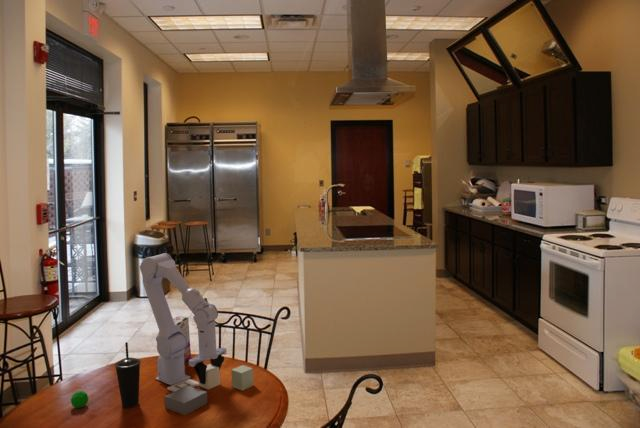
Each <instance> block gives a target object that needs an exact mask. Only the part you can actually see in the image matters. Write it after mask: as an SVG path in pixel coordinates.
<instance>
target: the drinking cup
mask: <svg viewBox="0 0 640 428" xmlns="http://www.w3.org/2000/svg"><path fill="white" fill-rule="evenodd" d="M124 344H125V357H124V358H122V359H120V360H118V361H116V362H115V363H114V368H115V371H116V376H117V384H118V389H119V395H120V400H121V401H120V402H121V406H122V408H124V409H130V408H131V409H132V408H135V407H137V406H139V399H140V398H139V397H140V376H141V375H140V370H141V369H140V368H141V367H140V366H141V363H142V360H141V359H140V358H135V357H129V343H128V342H127V341H126V342H124Z"/></svg>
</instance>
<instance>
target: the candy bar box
mask: <svg viewBox="0 0 640 428" xmlns="http://www.w3.org/2000/svg"><path fill="white" fill-rule="evenodd" d="M173 321H174V323H175V325H176V326H178V327H180V328H181V329H182V332H183V333H184V334H185V336H186V337H187V340H188V344H187V347H186V348H185V352H184V364H185V363H186V362H187V361H189V360H190V359H191V358H192V354H191V353H192V352H191V340H190V339H191V338H190V327H189V326H190V323H189V322H190V321H189V317H188V316H182V315H181V316H178V315H177V316H176V317H175V318H173ZM170 336H172V335H170ZM170 336H169V337H170Z"/></svg>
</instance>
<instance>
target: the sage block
mask: <svg viewBox="0 0 640 428" xmlns="http://www.w3.org/2000/svg"><path fill="white" fill-rule="evenodd" d="M231 386H232V388H235V389H237V390H240V391H245V390H247V389H249V388H252V387H254V369H253V368H252V367H251V366H247V365H244V364H242V365H240V366H237V367H235V368H232V369H231Z"/></svg>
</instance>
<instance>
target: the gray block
mask: <svg viewBox="0 0 640 428" xmlns="http://www.w3.org/2000/svg"><path fill="white" fill-rule="evenodd" d="M207 404H208V392H207V391H205V390H202V389H198V388H195V387H190V386H185V387H183V388H181V389H179V390H177V391H175V392H170V393H169V394H167V395H164V408H165V409H168V410H170V411H173V412H174V413H175V412H176V413H179V414H181V415H184V416H186V415H189V414H191V413H192V412H193V411H196V410H197V409H199V408H201V407H203V406H205V405H207Z"/></svg>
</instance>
